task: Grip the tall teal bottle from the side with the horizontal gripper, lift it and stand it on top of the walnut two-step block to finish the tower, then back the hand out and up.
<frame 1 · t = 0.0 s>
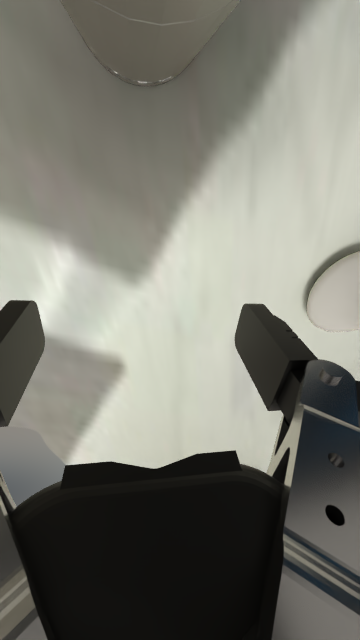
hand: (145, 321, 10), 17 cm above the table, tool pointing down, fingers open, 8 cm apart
flower in vase: (336, 288, 33), on the table
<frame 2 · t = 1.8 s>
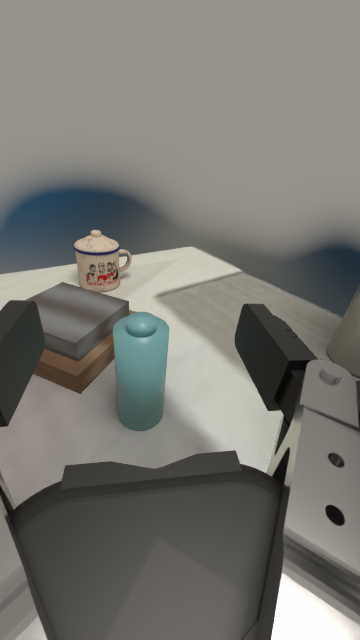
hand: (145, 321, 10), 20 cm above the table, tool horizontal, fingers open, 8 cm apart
tower base: (73, 340, 40), on the table
teal bottle: (140, 411, 30), on the table
teacup with lid: (106, 283, 59), on the table
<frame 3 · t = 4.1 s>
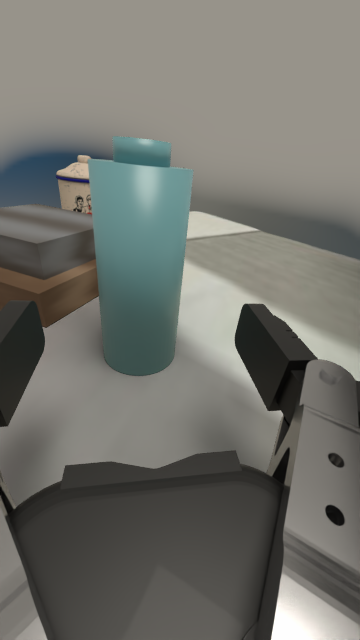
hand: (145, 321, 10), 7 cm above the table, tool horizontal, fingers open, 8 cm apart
tower base: (47, 274, 29), on the table
teal bottle: (140, 350, 19), on the table
teacup with lid: (98, 231, 48), on the table
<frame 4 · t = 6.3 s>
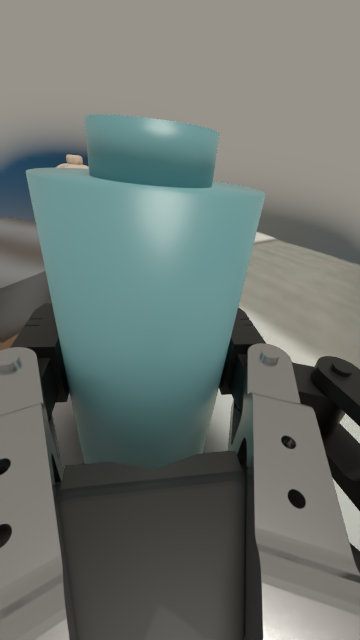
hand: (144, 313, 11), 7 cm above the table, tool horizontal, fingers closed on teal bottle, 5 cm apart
tower base: (21, 311, 22), on the table
teal bottle: (144, 461, 12), on the table, touching gripper
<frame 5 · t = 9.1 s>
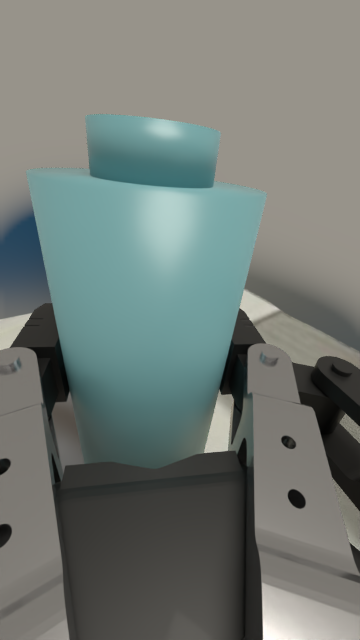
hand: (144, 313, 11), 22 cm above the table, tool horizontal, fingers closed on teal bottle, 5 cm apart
tower base: (73, 449, 28), on the table
teal bottle: (144, 461, 12), point 15 cm above the table, touching gripper
when the fingers open (14 cm above the table, at t = 12.0 s): teal bottle stays where it is, resting on tower base.
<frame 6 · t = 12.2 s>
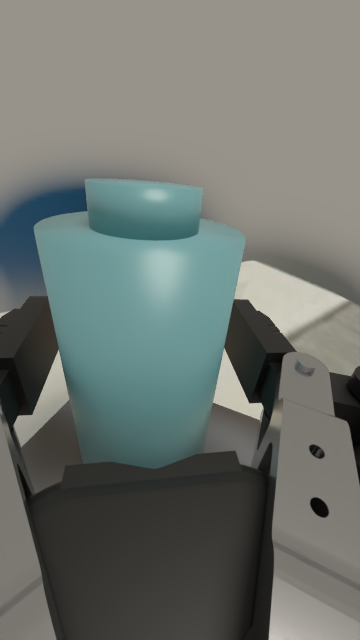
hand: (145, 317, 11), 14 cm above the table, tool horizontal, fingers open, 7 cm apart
tower base: (142, 524, 16), on the table
teal bottle: (144, 475, 13), point 6 cm above the table, touching tower base
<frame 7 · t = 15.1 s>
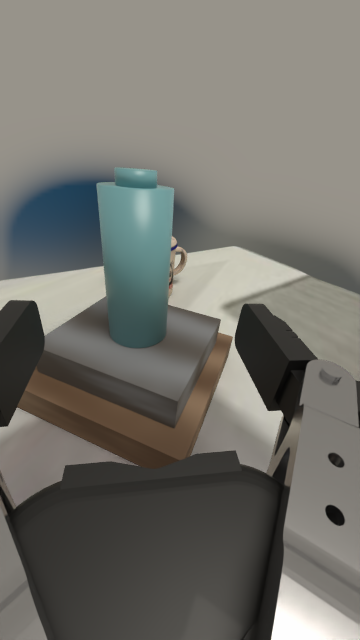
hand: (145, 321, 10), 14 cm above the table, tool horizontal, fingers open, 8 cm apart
tower base: (137, 377, 27), on the table
teal bottle: (138, 330, 24), point 6 cm above the table, touching tower base
teacup with lid: (154, 290, 45), on the table
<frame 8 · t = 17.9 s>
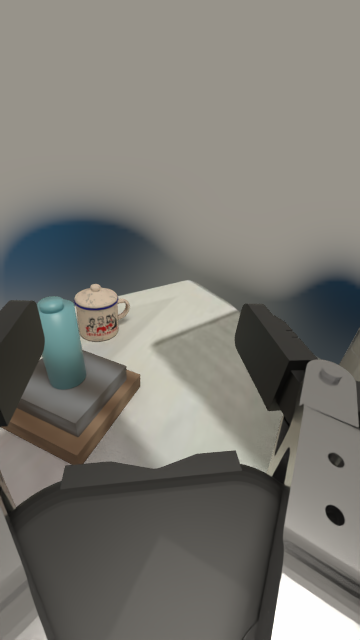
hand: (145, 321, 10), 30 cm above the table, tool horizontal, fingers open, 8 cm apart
tower base: (73, 402, 42), on the table
teal bottle: (68, 376, 39), point 6 cm above the table, touching tower base
teacup with lid: (105, 330, 61), on the table
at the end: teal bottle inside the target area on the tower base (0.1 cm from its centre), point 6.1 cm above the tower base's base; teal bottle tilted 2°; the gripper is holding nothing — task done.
